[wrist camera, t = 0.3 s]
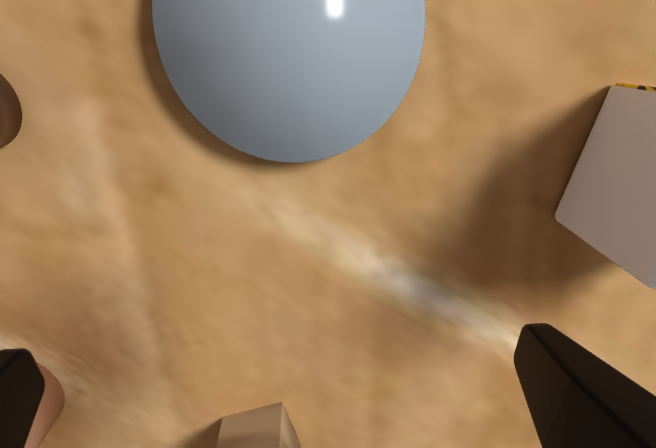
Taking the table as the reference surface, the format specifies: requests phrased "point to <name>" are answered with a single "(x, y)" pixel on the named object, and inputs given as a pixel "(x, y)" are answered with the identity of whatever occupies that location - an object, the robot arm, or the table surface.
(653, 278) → the medicine bottle
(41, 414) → the short mauve cylinder
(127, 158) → the table surface
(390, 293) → the table surface
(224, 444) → the oak block
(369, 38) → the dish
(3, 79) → the brown cylinder
